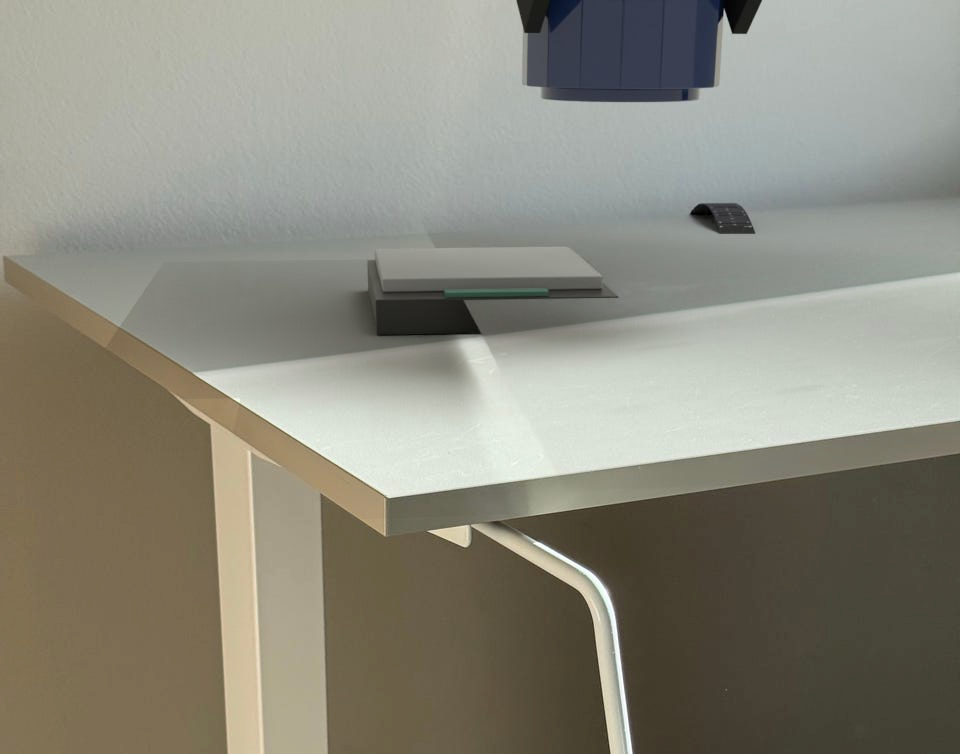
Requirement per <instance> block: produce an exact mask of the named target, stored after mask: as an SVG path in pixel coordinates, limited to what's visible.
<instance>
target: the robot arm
mask: <svg viewBox="0 0 960 754" xmlns="http://www.w3.org/2000/svg"><path fill="white" fill-rule="evenodd" d="M549 1H550V0H516V5H517V9H518V12H519V13H518V14H519V17H520V22H521V25H522V30H523V29H524V33H540V32H541V28H542V25H543V22H544V18H545V15H546V11H547V8H548V5H549ZM762 1H763V0H724V14H725V16H726V20H727V22H728V25H729V29H730V31H731V35H747V34H748V32H749V30H750V28H751V26H752V23H753V21H754V19H755V17H756V15H757V13H758V11H759V8H760V7H761V4H762Z"/></svg>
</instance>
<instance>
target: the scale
mask: <svg viewBox="0 0 960 754" xmlns="http://www.w3.org/2000/svg"><path fill="white" fill-rule="evenodd" d="M366 261H367V262H366V263H367V265H366V266H367V292H368V296H369V302H370V306H371V307H370V308H371V312H372V317H373V323H374V327H375V332H376V335H377V336H391V335H393V336H394V335H395V336H396V335H452V334H453V335H455V334H457V335H458V334H462V335H463V334H482V332H481V330H480V328H479V327H478V324H477V323H476V321H475V319H474V317H473V315H472V313H471V311H470V310H469V307H468V306H467V304H466V302H465V301H478V300H479V301H486V300H487V301H489V300H491V301H493V300H494V301H495V300H556V299H557V300H558V299H559V300H562V299H563V300H564V299H618V298H619V296H618V295H617V294H616V293H615V292H614V291H612V289H611V288H609V287H608V286H607V285H606V284H605V283H604V282H603V279H604V278H603V275H602V274H601V273H599V272H598V270H596V269H595V268H594V267H592V266H591V265H590V264H589V263H588V262H587V261H585V260H584V259H583V258H582V257H581V256H580V255H579V254H578V253H576V252H575V251H574V250H573V249H572V248H570V247H569V246H503V247H497V246H495V247H490V246H489V247H488V246H487V247H413V248H412V247H411V248H410V247H409V248H405V247H404V248H403V247H402V248H375V249H374V259H367V260H366Z"/></svg>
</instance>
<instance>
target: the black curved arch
mask: <svg viewBox="0 0 960 754" xmlns="http://www.w3.org/2000/svg"><path fill="white" fill-rule="evenodd" d="M689 215H705V220H707V215H711V216H712V219H711V224H714V219H715V222H716V224H717V229H718V231H719V234H720V235H756V231H755V228H754V226H753V223H752V221H751V219H750V217H749V215H748V213H747V212H746V210H745V209H744V207H743V206H741V205H740V204H738V203H736V202H727V203H726V202H716V203H715V202H713V203H712V202H707V203H706V202H703V203H698V204H697V205H695V206H694V207H693V208H692V209H691V210H690V213H689Z"/></svg>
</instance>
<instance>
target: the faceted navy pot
mask: <svg viewBox="0 0 960 754" xmlns="http://www.w3.org/2000/svg"><path fill="white" fill-rule="evenodd" d="M724 14H725V10H724V0H550V1H549V5H548V8H547V11H546V15H545V18H544V22H543V25H542V28H541V32H540V33H524V29H523V28H522V55H521V56H522V59H521V60H522V63H521V84H522V85H523V86H526V87H530V88H531V87H532V88H533V87H534V88H540V99H542V100H547V101H559V102H562V101H563V102H580V103H581V102H583V103H584V102H585V103H679V102H695V101H699V100H700V95H701V89H712V88H717V87H719V86H720V79H721V65H722V64H721V63H722V47H723V31H724V17H725V16H724Z"/></svg>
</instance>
